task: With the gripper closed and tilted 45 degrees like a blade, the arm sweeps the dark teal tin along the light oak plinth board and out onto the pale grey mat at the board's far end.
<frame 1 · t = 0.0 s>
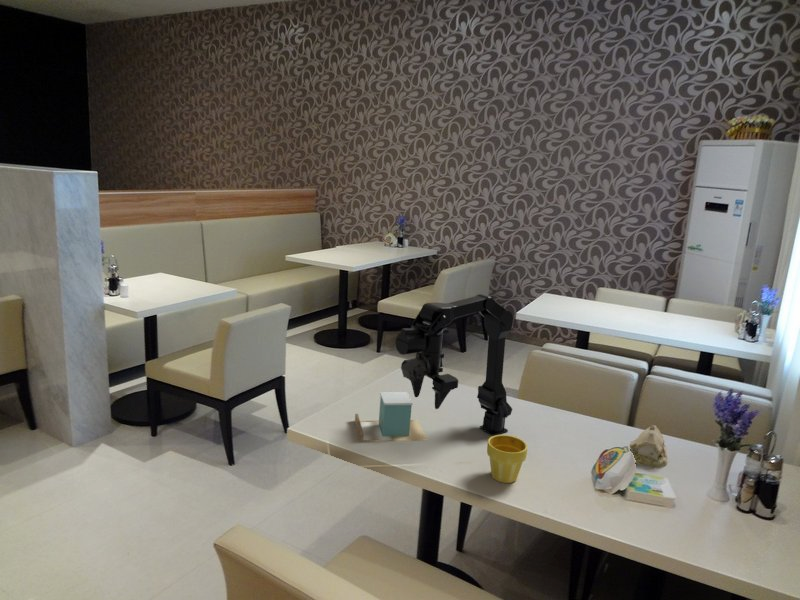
hand: (426, 402, 161), 15 cm above the table, tool pointing down, fingers open, 9 cm apart
ceramic model: (647, 457, 170), on the table
plinth board: (390, 432, 174), on the table
plant pot: (503, 477, 153), on the table
tin: (393, 430, 175), point 1 cm above the table, touching plinth board
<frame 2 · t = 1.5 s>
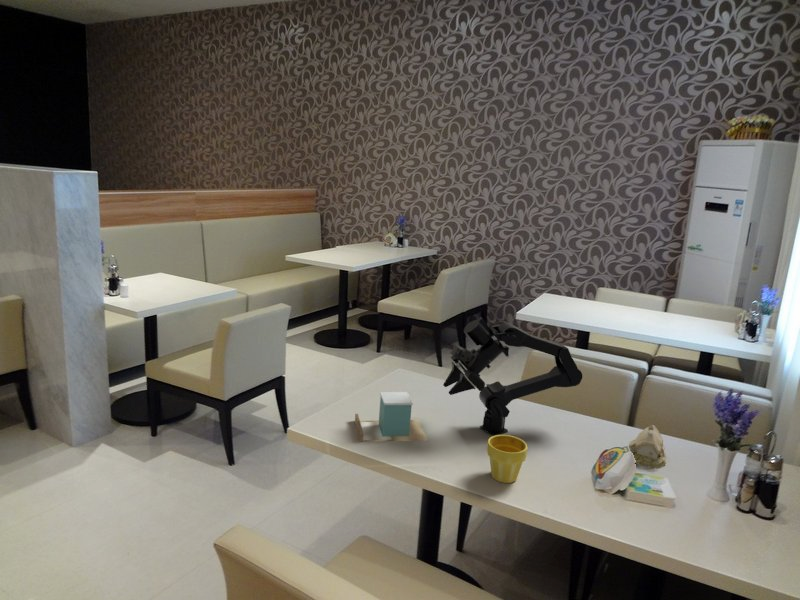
hand: (446, 389, 175), 14 cm above the table, tool tilted 45°, fingers open, 6 cm apart
nothing on the table moved.
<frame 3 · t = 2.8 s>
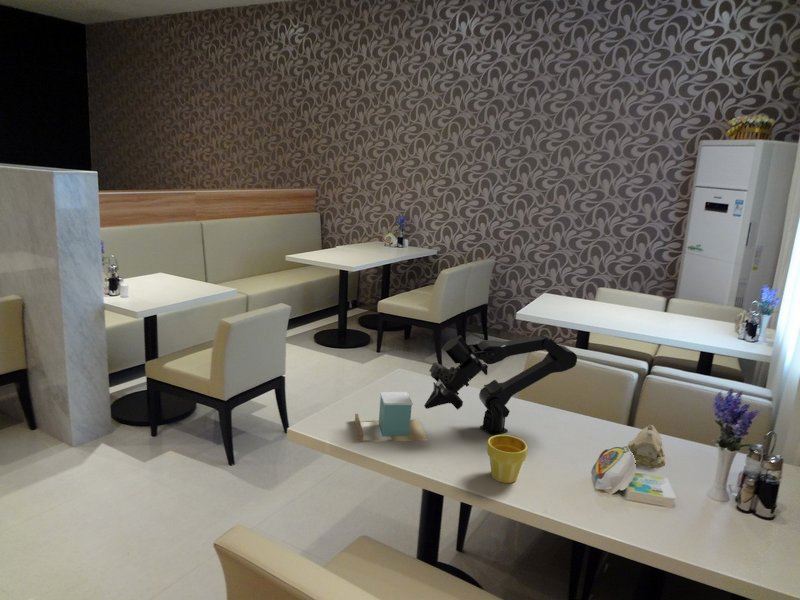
hand: (425, 407, 175), 8 cm above the table, tool tilted 45°, fingers closed
nothing on the table moved.
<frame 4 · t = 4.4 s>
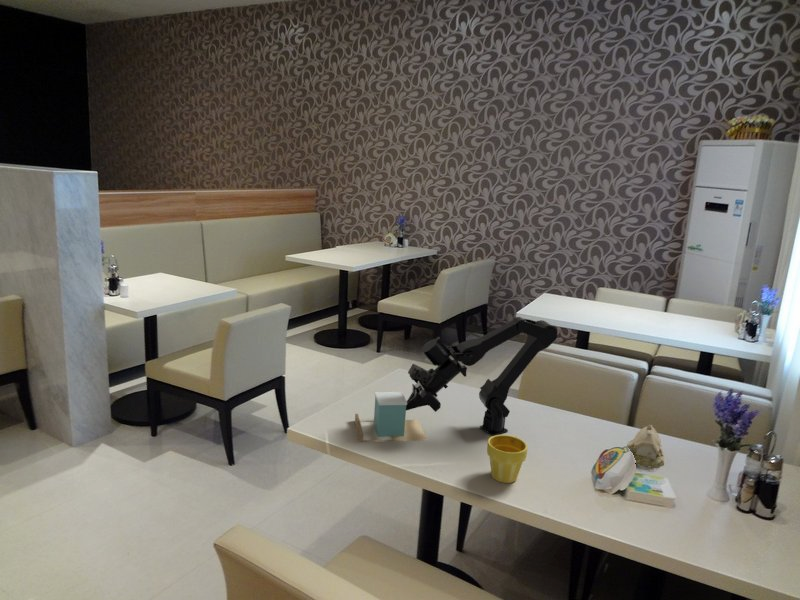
hand: (403, 409, 174), 7 cm above the table, tool tilted 45°, fingers closed
tin: (388, 430, 174), point 1 cm above the table
everything else where it was.
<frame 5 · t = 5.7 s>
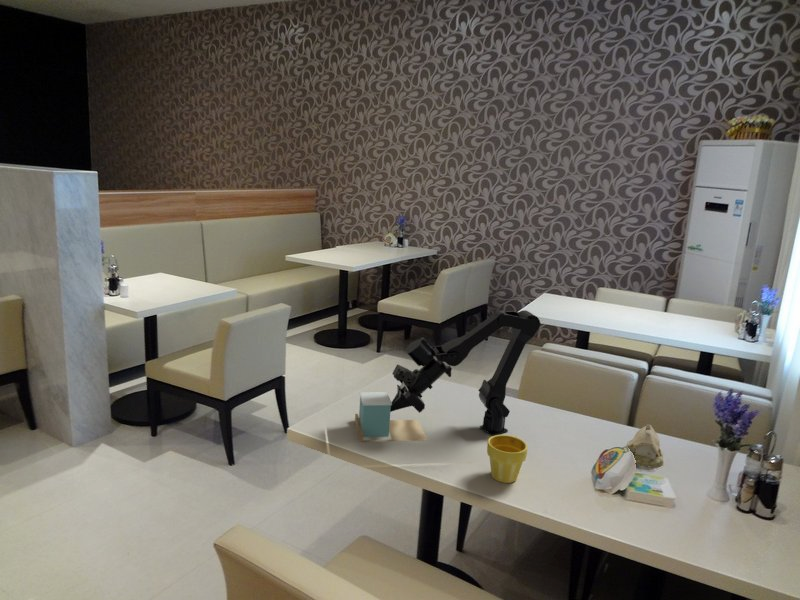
hand: (388, 410, 173), 7 cm above the table, tool tilted 45°, fingers closed, pressing on tin
tin: (373, 430, 173), point 1 cm above the table, touching gripper, plinth board
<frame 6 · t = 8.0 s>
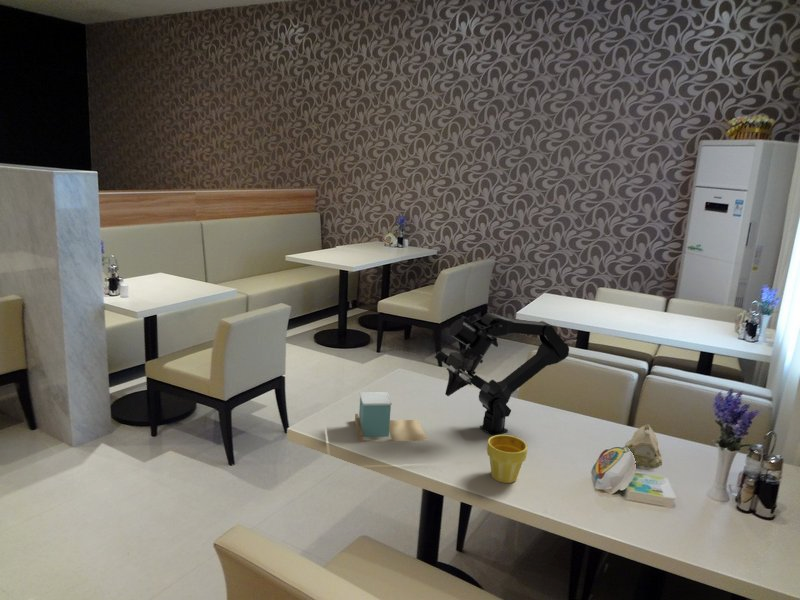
hand: (446, 395, 172), 13 cm above the table, tool tilted 30°, fingers closed
tin: (373, 430, 173), point 1 cm above the table, touching plinth board
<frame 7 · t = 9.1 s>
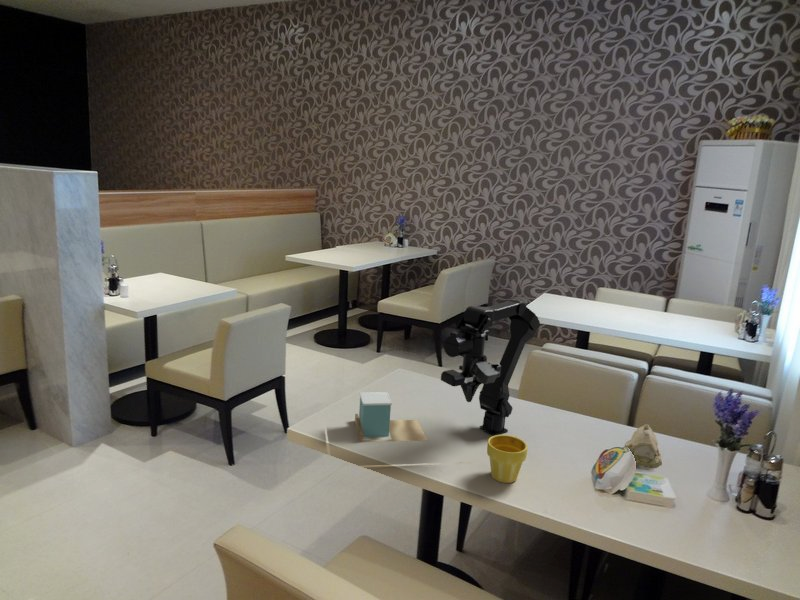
hand: (468, 401, 168), 13 cm above the table, tool pointing down, fingers closed
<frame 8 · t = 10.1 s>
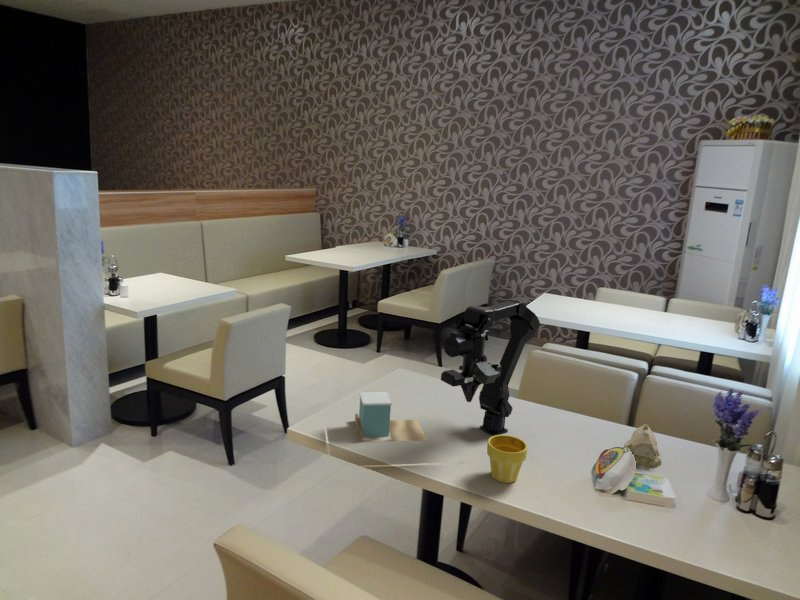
hand: (468, 401, 168), 13 cm above the table, tool pointing down, fingers closed
at the end: tin inside the target area (1.4 cm from its centre), point 0.6 cm above the table; tin tilted 0°; tin moved 6.2 cm from its start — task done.
